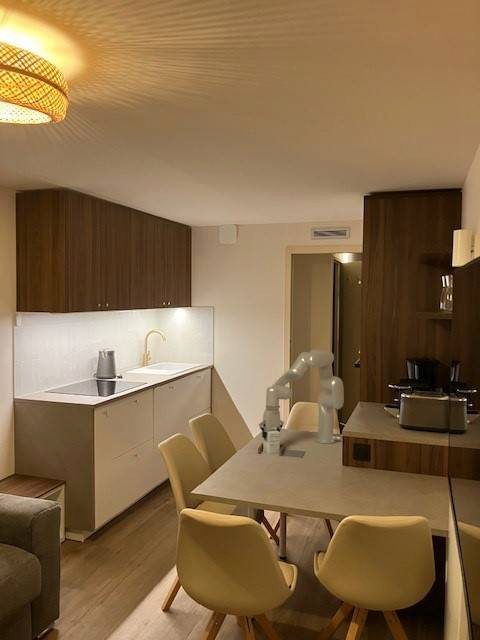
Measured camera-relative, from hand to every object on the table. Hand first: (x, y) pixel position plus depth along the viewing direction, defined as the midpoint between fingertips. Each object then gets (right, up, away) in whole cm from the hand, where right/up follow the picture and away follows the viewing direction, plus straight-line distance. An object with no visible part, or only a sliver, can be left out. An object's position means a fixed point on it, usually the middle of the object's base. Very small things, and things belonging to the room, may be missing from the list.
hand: (271, 437), depth 312 cm
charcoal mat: (+13, -9, -2) cm, 16 cm away
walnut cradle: (0, -9, +1) cm, 9 cm away
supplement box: (0, -9, +1) cm, 9 cm away
